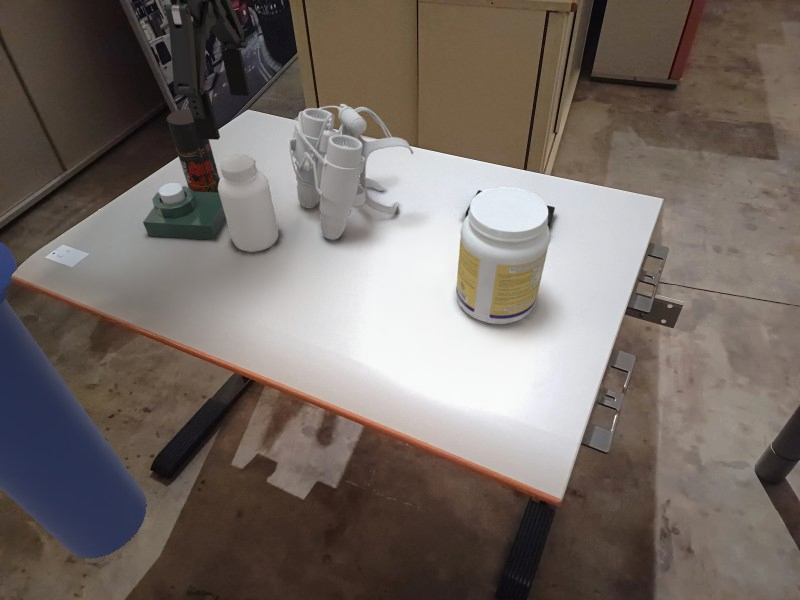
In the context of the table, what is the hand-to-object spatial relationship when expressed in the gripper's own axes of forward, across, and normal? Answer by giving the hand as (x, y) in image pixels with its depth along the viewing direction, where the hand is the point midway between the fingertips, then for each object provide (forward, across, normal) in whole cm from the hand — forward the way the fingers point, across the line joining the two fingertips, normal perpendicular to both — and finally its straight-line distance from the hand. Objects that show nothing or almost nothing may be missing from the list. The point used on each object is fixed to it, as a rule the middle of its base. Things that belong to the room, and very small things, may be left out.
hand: (225, 115), depth 80 cm
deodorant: (+23, +14, +14) cm, 30 cm away
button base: (+23, +4, +13) cm, 26 cm away
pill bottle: (+23, 0, 0) cm, 23 cm away
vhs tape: (+23, +10, -44) cm, 51 cm away
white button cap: (+18, +4, +15) cm, 24 cm away
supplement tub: (+23, -11, -41) cm, 48 cm away
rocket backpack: (+23, +11, -16) cm, 30 cm away
